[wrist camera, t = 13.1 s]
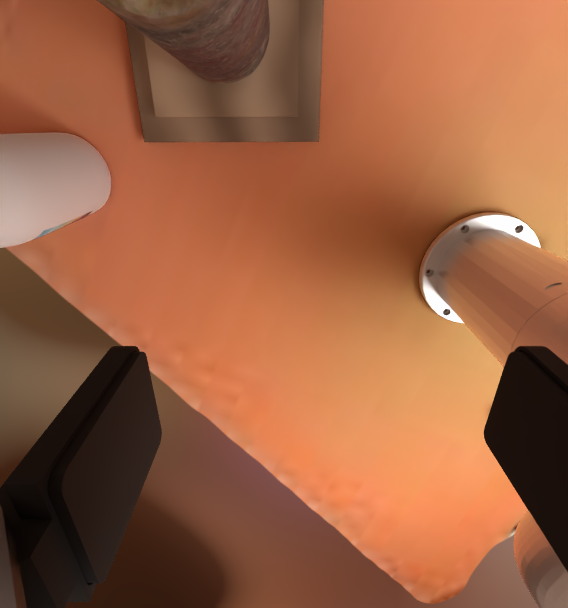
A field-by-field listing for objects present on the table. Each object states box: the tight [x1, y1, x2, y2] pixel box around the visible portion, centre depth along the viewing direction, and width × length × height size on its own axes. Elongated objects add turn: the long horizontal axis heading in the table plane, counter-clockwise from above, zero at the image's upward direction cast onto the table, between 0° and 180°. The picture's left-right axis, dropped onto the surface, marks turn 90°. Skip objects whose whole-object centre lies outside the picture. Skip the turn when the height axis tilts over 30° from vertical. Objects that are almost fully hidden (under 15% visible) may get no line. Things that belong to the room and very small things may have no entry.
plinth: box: [125, 0, 324, 142], centre depth 30 cm, size 16×16×4 cm
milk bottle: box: [0, 132, 111, 248], centre depth 27 cm, size 8×8×20 cm
